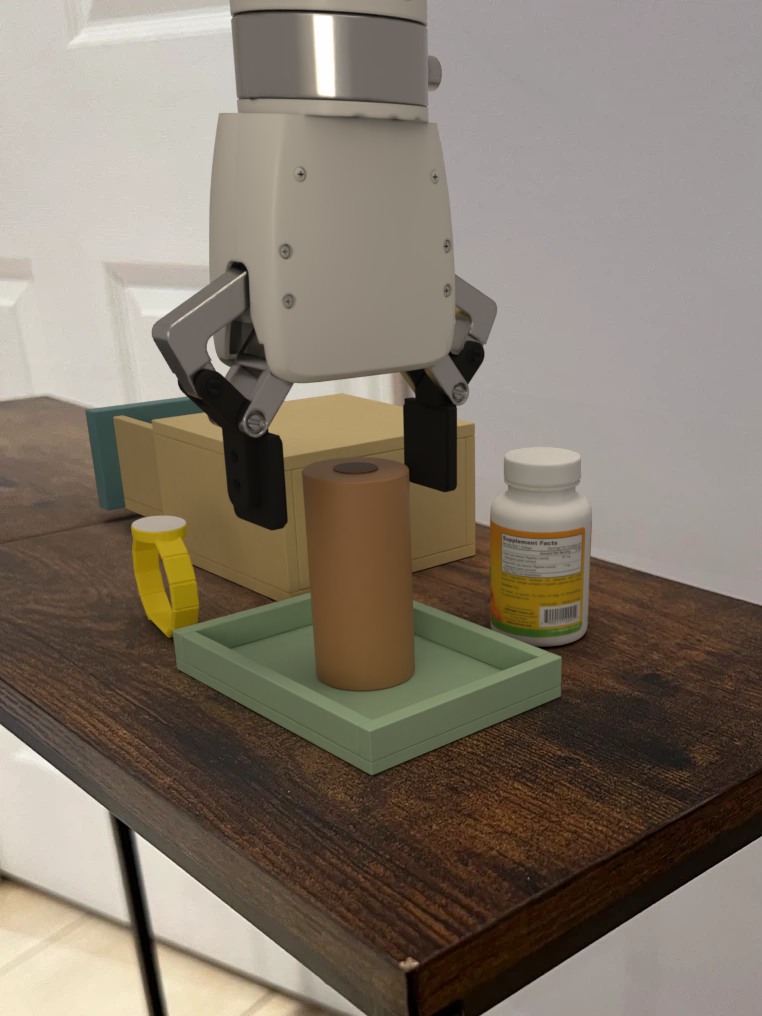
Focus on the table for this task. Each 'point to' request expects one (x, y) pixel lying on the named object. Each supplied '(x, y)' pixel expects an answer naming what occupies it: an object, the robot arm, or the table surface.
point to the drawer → (130, 452)
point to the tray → (379, 713)
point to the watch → (166, 541)
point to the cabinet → (306, 439)
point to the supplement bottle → (540, 549)
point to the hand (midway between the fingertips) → (350, 503)
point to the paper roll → (360, 571)
